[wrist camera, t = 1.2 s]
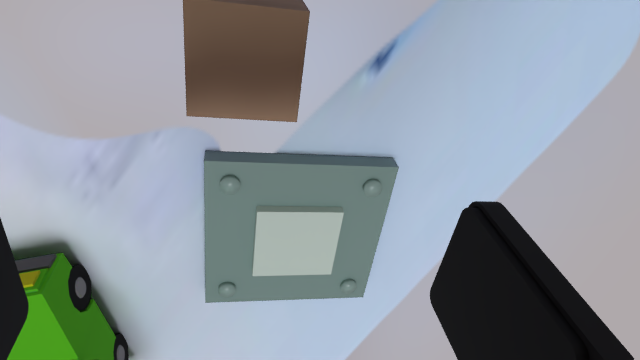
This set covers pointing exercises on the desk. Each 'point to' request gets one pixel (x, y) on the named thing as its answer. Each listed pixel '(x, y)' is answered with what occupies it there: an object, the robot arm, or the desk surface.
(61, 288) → the toy car
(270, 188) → the baseplate
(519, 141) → the desk surface
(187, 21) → the walnut cube
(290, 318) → the desk surface
